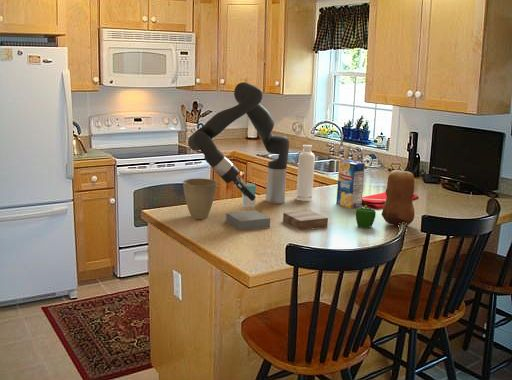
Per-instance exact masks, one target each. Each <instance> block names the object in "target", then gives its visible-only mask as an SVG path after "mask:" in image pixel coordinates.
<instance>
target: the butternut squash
mask: <svg viewBox="0 0 512 380" xmlns="http://www.w3.org/2000/svg"><path fill="white" fill-rule="evenodd" d="M385 192H386V195H387V198H386V201H385V203H384V205H383V208H382V212H381V217H382V218H383V220H384V221H385V222H386V223H387V224H389V225H391V226H394V227H396V228H399V227H398V225H399V223H402V222H405V223H407V225H406V226H408V225H410V224H411V223H413V222H414V219H415V207H414V204H413V200H412V197H413V194H414V193H415V176H414V173H412V172H410V171H405V170H402V169H401V170H400V169H393V170H392V171H390V172H389V174H388V177H387V184H386V189H385Z"/></svg>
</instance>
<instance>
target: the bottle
mask: <svg viewBox="0 0 512 380" xmlns="http://www.w3.org/2000/svg"><path fill="white" fill-rule="evenodd" d="M312 147H313V145H312V144H303V145H302V152H300V153H299V154H298V160H297V161H298V163H297V164H298V165H297V177H296V178H297V179H296V180H297V181H296V198H295V200H297V201H300V200H301V201H300V202H310V201H313V190H314V177H315V176H314V175H315V162H316V161H315V159H316V158H315V157H316V156H315V154H314V153H313V151H312ZM301 197H302V198H301Z"/></svg>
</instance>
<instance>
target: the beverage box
mask: <svg viewBox="0 0 512 380" xmlns="http://www.w3.org/2000/svg"><path fill="white" fill-rule="evenodd" d="M338 165H339V166H338V176H337V177H338V179H337V190H336V191H337V192H336V204H337V205H340V206H343V207H345V208H349V209H359V208H361V207H362V206H361V205H362V197H363V191H364V181H365V168H366V166H365V165H366V163H365V162H361V161H357V160H352V159H345V160H339V163H338Z"/></svg>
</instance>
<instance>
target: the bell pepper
mask: <svg viewBox="0 0 512 380" xmlns="http://www.w3.org/2000/svg"><path fill="white" fill-rule="evenodd" d="M376 213H377V212H376V209H372V208H367V205H365V206H364V207H363V206H361V207H358V208H356V211H355V221H356V224H357V226H358V227H360V228H363V229H368V228H370V227H372V226H373V224H374V222H375V218H376Z"/></svg>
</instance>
